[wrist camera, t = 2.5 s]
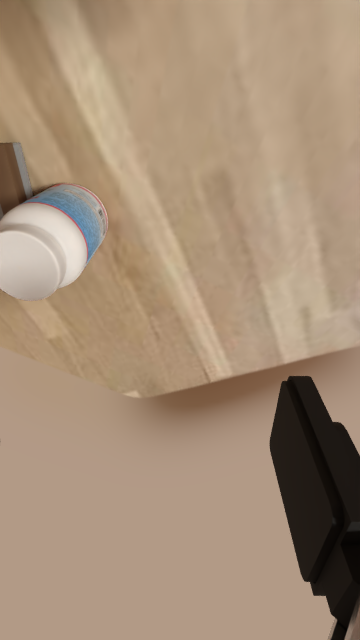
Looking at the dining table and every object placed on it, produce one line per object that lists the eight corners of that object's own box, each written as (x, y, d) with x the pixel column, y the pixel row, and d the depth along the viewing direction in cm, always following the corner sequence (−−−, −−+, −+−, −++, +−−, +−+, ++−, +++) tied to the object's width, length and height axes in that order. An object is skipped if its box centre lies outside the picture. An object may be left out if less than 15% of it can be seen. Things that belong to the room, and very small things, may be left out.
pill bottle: (48, 168, 27) (-27, 198, 18) (118, 200, 28) (83, 244, 19) (35, 234, 30) (-36, 289, 21) (98, 260, 31) (59, 323, 22)
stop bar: (15, 142, 26) (3, 144, 24) (49, 279, 32) (42, 288, 31) (-5, 143, 26) (-18, 145, 24) (34, 279, 33) (25, 288, 31)
